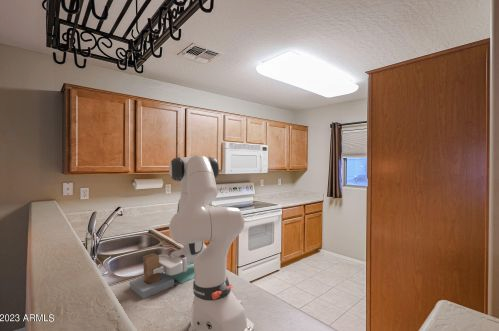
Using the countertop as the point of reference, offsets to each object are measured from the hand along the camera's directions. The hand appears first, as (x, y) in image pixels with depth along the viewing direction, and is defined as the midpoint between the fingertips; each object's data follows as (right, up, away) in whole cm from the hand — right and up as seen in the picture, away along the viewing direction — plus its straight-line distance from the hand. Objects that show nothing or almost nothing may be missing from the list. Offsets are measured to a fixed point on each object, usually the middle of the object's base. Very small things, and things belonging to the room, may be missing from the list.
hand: (149, 269), depth 108 cm
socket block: (+1, -8, +1) cm, 8 cm away
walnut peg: (+1, -8, +1) cm, 8 cm away
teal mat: (+13, -7, +13) cm, 20 cm away
